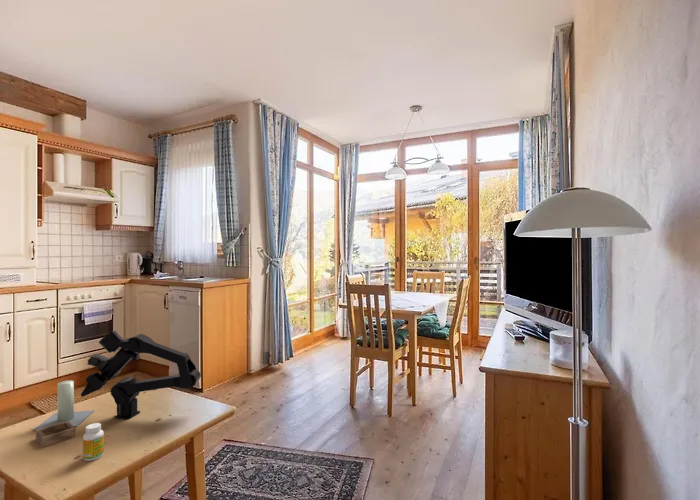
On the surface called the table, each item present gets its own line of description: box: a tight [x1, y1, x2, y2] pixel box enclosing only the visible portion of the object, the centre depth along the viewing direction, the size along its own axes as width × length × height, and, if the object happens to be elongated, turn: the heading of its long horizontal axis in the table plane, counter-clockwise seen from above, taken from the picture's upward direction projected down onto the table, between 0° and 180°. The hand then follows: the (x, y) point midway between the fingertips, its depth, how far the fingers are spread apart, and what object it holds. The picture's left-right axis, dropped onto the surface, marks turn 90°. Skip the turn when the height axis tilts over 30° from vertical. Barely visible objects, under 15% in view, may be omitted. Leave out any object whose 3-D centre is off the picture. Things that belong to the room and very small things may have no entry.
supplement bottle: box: [82, 422, 105, 462], centre depth 118 cm, size 5×5×10 cm
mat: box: [32, 409, 95, 432], centre depth 143 cm, size 14×14×1 cm
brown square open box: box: [35, 421, 76, 448], centre depth 130 cm, size 9×9×3 cm
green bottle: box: [56, 380, 75, 422], centre depth 143 cm, size 5×5×14 cm
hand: (87, 391), depth 145 cm, fingers open, 9 cm apart
